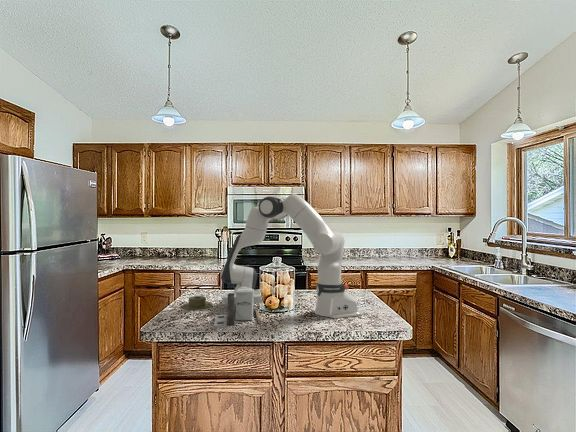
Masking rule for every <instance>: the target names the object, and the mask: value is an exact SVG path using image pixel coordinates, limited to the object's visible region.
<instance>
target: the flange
mask: <svg viewBox="0 0 576 432" xmlns="http://www.w3.org/2000/svg"><path fill="white" fill-rule="evenodd" d="M206 299H207V296H204V295H195V296H189V297H188V302H187V303H186V302H185V303H184V304H182V305H181V308H182V309H184V310H187V311H188V310H189V311H197V310H198V311H199V310H205V309H210V308H212V307H213V302H209V301H206Z"/></svg>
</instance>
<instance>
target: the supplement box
mask: <svg viewBox="0 0 576 432" xmlns="http://www.w3.org/2000/svg"><path fill="white" fill-rule="evenodd" d="M254 289H255V288H254ZM254 289H238V290H237V292H236V304H235V320H236V321H253V317H254V304H253V294H254Z"/></svg>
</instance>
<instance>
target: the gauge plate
mask: <svg viewBox="0 0 576 432" xmlns="http://www.w3.org/2000/svg"><path fill="white" fill-rule="evenodd" d="M213 323H214V324H213V328H214V329H220V328H221V329H224V328H225V329H226V328H227V324H228V314H215V316H214V322H213Z"/></svg>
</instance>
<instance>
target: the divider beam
mask: <svg viewBox="0 0 576 432" xmlns="http://www.w3.org/2000/svg"><path fill="white" fill-rule="evenodd" d="M227 294H228V305H227V326H231V327H232V326H235V304H234V292H231V293H227ZM254 312H255V316H256V320H257V323H259V324H258V325H262V319H261V315H260V311H259V308H254Z"/></svg>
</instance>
